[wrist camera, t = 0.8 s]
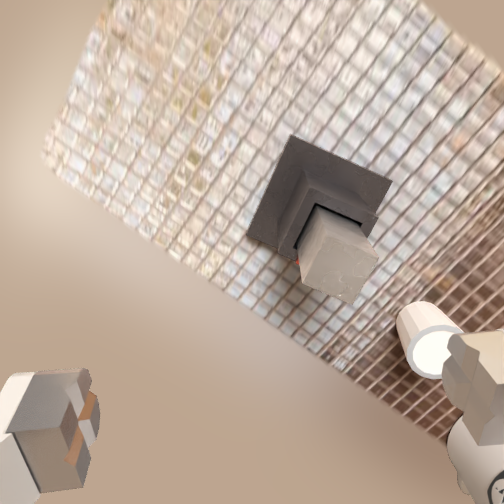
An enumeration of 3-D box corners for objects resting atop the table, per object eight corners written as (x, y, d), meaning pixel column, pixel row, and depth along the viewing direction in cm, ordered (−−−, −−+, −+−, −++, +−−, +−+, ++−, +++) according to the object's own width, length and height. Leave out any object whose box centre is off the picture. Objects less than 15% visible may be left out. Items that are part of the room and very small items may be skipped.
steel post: (342, 200, 47) (380, 257, 30) (325, 233, 48) (352, 305, 32) (308, 184, 47) (327, 234, 30) (292, 218, 48) (301, 284, 31)
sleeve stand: (389, 178, 48) (424, 203, 36) (339, 270, 52) (356, 319, 40) (290, 133, 47) (294, 145, 35) (246, 231, 51) (238, 269, 39)
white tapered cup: (412, 355, 55) (431, 390, 49) (379, 319, 54) (393, 350, 47) (459, 324, 53) (484, 356, 47) (426, 285, 52) (448, 312, 45)
